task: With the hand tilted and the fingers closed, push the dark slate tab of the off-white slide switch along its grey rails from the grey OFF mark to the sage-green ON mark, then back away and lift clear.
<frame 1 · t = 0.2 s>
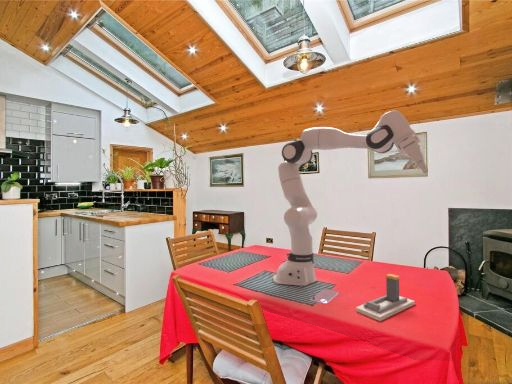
hand: (426, 171, 113), 54 cm above the table, tool tilted 30°, fingers open, 8 cm apart
switch tab: (392, 287, 112), point 7 cm above the table, slide at 0.0 cm
mobile phone: (325, 297, 122), on the table
switch plate: (386, 307, 110), on the table
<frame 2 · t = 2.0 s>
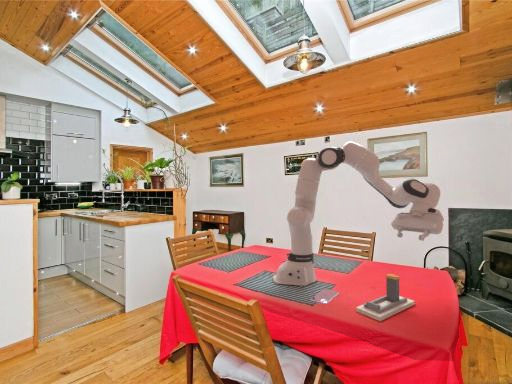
hand: (409, 238, 119), 26 cm above the table, tool tilted 45°, fingers open, 8 cm apart
nothing on the table moved.
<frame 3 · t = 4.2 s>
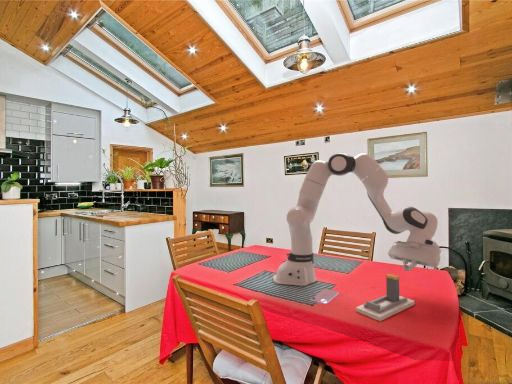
hand: (406, 269, 118), 12 cm above the table, tool tilted 45°, fingers closed
nothing on the table moved.
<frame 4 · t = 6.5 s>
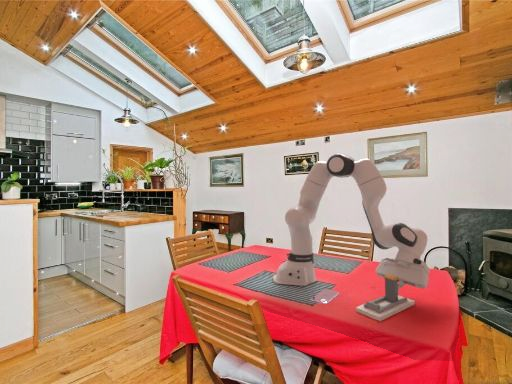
hand: (393, 290, 113), 6 cm above the table, tool tilted 45°, fingers closed, pressing on switch tab
switch tab: (391, 288, 112), point 7 cm above the table, slide at 1.1 cm, touching gripper
everything else where it was.
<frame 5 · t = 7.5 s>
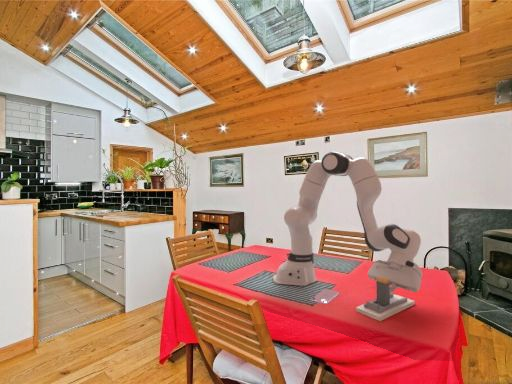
hand: (385, 293, 109), 6 cm above the table, tool tilted 45°, fingers closed, pressing on switch tab
switch tab: (383, 291, 108), point 7 cm above the table, slide at 6.9 cm, touching gripper
everything else where it was.
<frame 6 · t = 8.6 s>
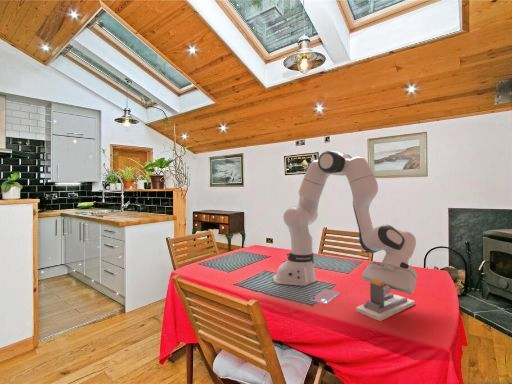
hand: (379, 295, 107), 6 cm above the table, tool tilted 45°, fingers closed, pressing on switch tab
switch tab: (376, 293, 106), point 7 cm above the table, slide at 10.9 cm, touching gripper
everything else where it was.
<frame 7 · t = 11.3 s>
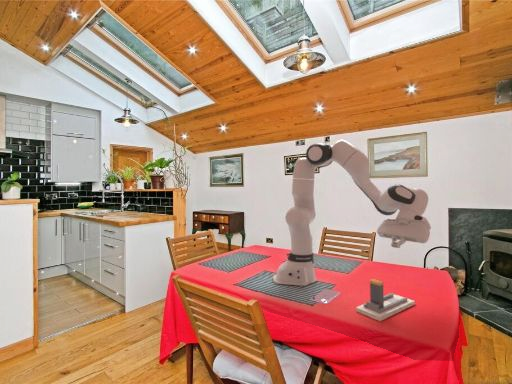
hand: (394, 246, 113), 23 cm above the table, tool tilted 45°, fingers closed
switch tab: (376, 293, 106), point 7 cm above the table, slide at 11.0 cm
everything else where it was.
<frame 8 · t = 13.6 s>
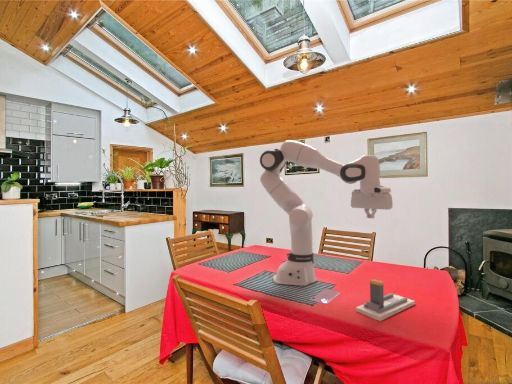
hand: (370, 218, 132), 33 cm above the table, tool pointing down, fingers closed
nothing on the table moved.
at the end: switch tab slide at 11.0 cm; mobile phone moved 0.7 cm from its start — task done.
